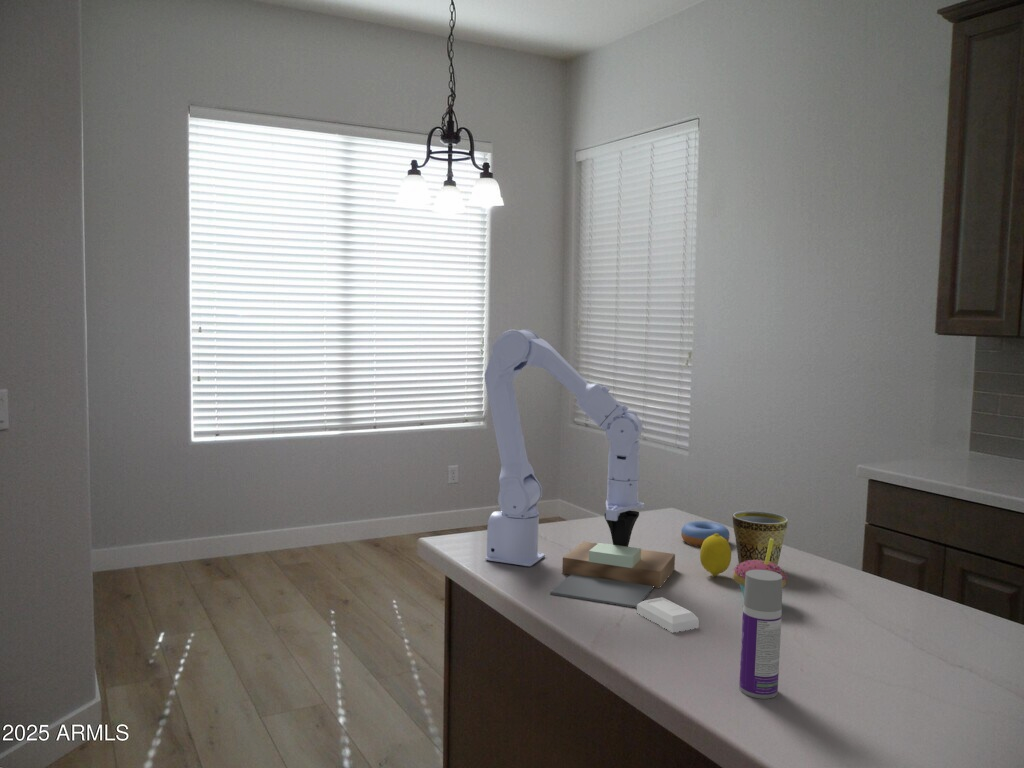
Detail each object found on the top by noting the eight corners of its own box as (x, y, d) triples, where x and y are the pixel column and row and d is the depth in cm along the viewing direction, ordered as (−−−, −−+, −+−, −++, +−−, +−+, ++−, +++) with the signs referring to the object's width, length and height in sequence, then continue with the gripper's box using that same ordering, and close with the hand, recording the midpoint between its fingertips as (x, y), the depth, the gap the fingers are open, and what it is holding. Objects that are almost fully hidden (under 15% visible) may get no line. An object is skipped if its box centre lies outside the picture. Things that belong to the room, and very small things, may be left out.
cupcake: (793, 603, 137) (797, 532, 136) (770, 615, 131) (774, 542, 130) (746, 590, 143) (749, 522, 142) (722, 602, 137) (725, 531, 136)
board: (562, 573, 150) (562, 557, 150) (583, 556, 161) (583, 541, 161) (659, 588, 143) (660, 571, 143) (674, 569, 154) (675, 553, 154)
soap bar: (672, 635, 123) (673, 618, 123) (636, 615, 131) (637, 599, 131) (698, 630, 125) (698, 613, 125) (661, 611, 133) (662, 595, 133)
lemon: (727, 572, 153) (729, 530, 152) (732, 581, 148) (734, 538, 147) (697, 570, 154) (699, 528, 153) (701, 580, 148) (703, 536, 148)
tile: (588, 561, 148) (589, 550, 147) (598, 553, 153) (598, 542, 153) (632, 568, 144) (632, 557, 144) (640, 559, 150) (641, 548, 150)
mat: (550, 594, 139) (550, 591, 139) (571, 575, 149) (571, 573, 149) (637, 608, 133) (637, 605, 133) (653, 588, 143) (653, 586, 143)
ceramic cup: (792, 577, 151) (795, 524, 150) (737, 576, 151) (740, 522, 150) (771, 557, 164) (773, 507, 163) (721, 555, 164) (723, 506, 163)
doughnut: (722, 535, 179) (721, 514, 178) (736, 550, 169) (735, 529, 168) (676, 539, 179) (675, 518, 178) (688, 554, 169) (687, 533, 168)
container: (733, 682, 106) (739, 569, 105) (768, 682, 107) (774, 569, 106) (747, 699, 102) (752, 580, 101) (783, 698, 102) (789, 580, 101)
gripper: (634, 487, 143) (631, 564, 144) (653, 473, 156) (651, 543, 157) (595, 483, 146) (593, 558, 147) (617, 470, 159) (615, 539, 160)
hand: (620, 550), depth 152 cm, fingers closed
